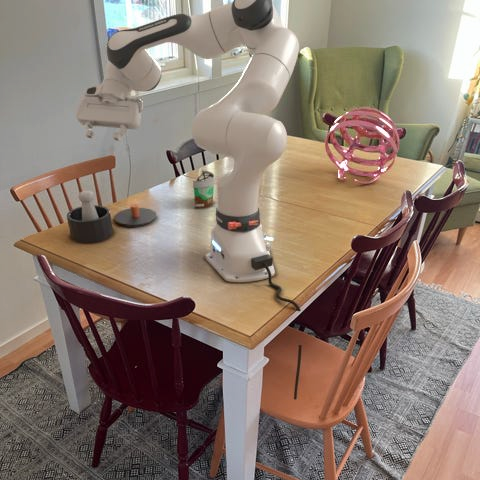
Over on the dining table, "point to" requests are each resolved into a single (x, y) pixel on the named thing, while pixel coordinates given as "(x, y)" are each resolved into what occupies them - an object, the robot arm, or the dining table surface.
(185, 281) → the dining table surface
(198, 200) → the food container
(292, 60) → the robot arm
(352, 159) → the pink ring sphere sculpture
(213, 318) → the dining table surface
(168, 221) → the dining table surface
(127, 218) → the canister lid
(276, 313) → the dining table surface
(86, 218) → the salt shaker
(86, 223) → the canister
